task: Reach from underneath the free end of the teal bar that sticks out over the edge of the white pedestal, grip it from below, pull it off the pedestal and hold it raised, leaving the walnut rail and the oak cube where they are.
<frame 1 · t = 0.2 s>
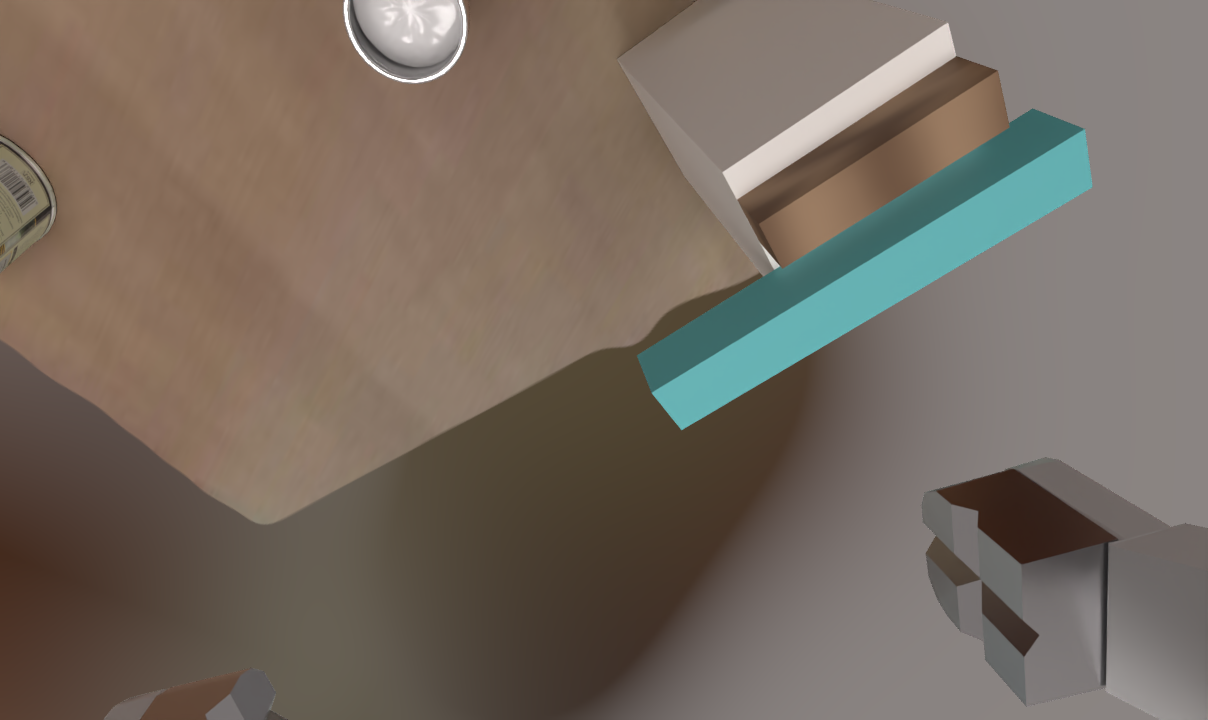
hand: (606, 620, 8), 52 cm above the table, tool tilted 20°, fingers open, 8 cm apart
walnut rail: (852, 154, 34), point 26 cm above the table, touching pedestal
pedestal: (713, 79, 56), on the table
teal bar: (833, 262, 37), point 26 cm above the table, touching pedestal
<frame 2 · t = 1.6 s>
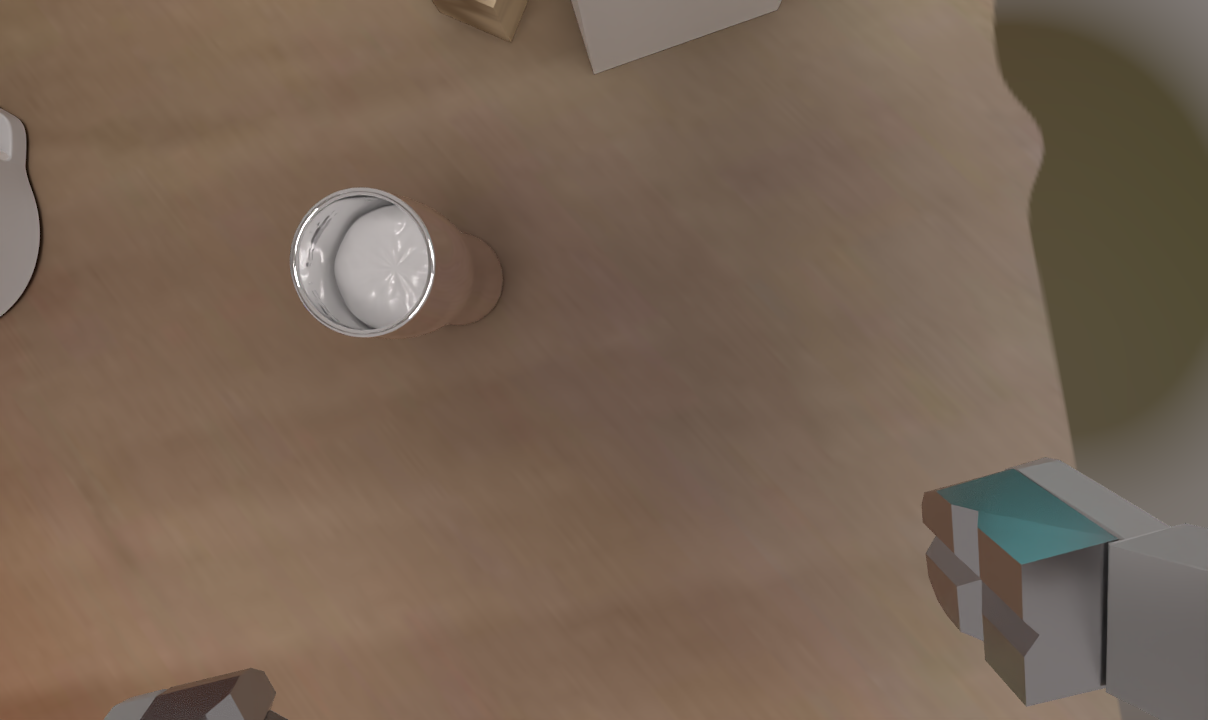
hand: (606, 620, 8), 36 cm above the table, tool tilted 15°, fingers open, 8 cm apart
beer glass: (459, 279, 44), on the table
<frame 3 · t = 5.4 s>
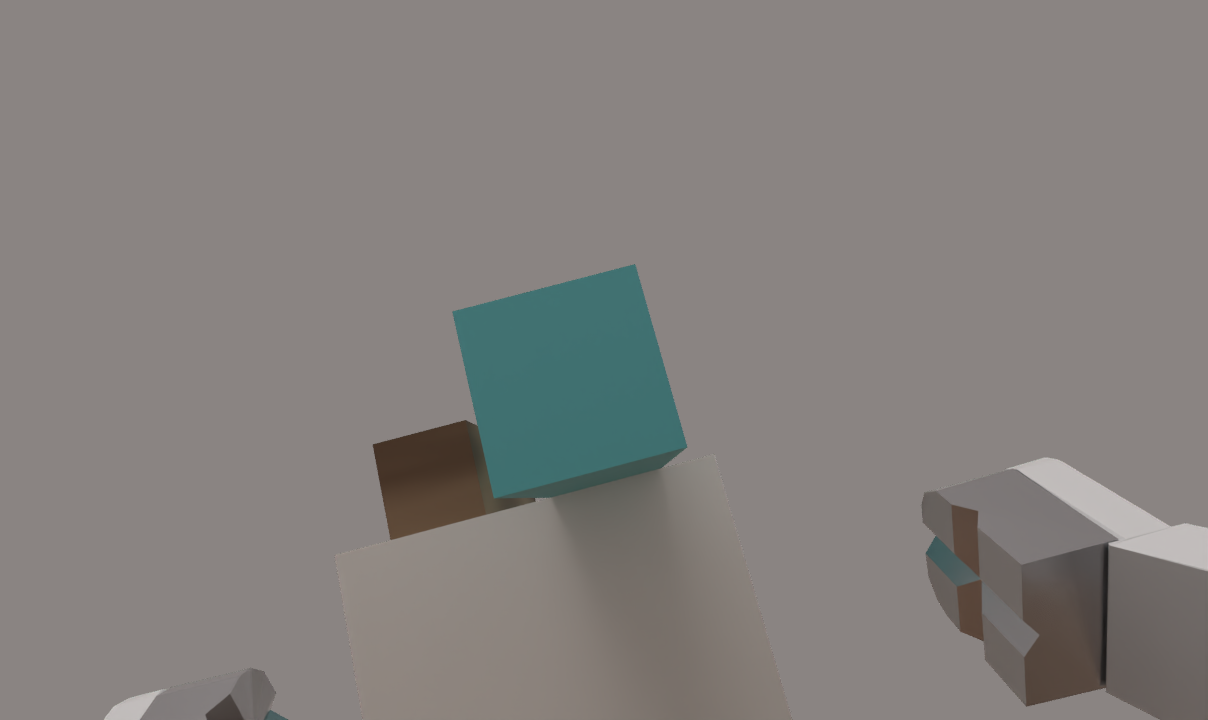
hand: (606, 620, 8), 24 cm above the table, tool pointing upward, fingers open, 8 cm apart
walnut rail: (480, 520, 26), point 26 cm above the table, touching pedestal
teal bar: (608, 484, 23), point 26 cm above the table, touching pedestal
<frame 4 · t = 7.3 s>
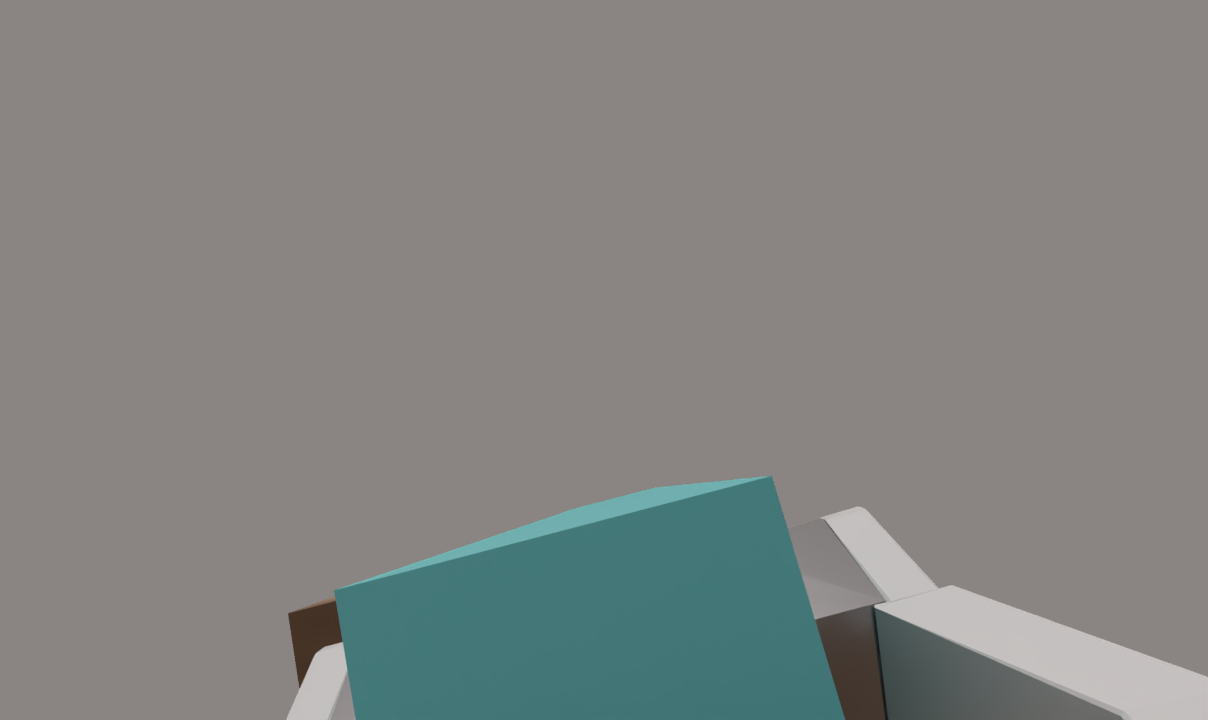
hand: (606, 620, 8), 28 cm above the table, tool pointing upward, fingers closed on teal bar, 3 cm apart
walnut rail: (459, 669, 19), point 26 cm above the table, touching pedestal
teal bar: (641, 645, 16), point 26 cm above the table, touching gripper, pedestal
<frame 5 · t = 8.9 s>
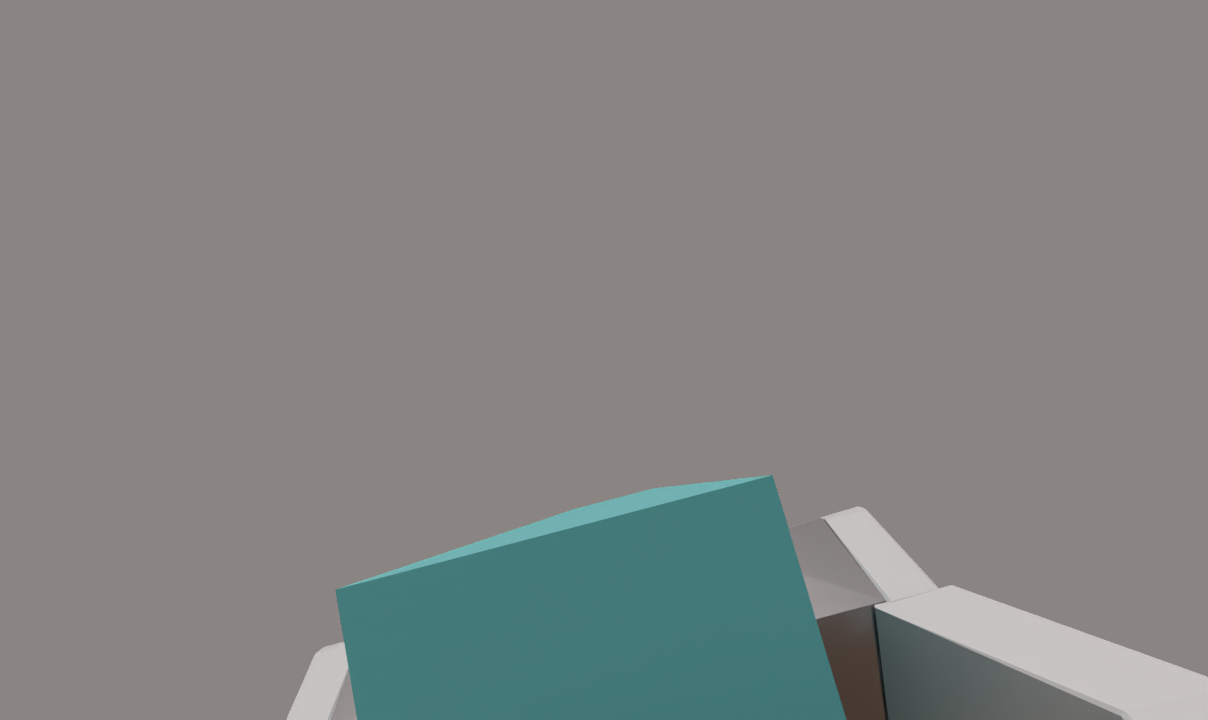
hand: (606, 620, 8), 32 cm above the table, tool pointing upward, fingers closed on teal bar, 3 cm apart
teal bar: (640, 646, 16), point 30 cm above the table, touching gripper
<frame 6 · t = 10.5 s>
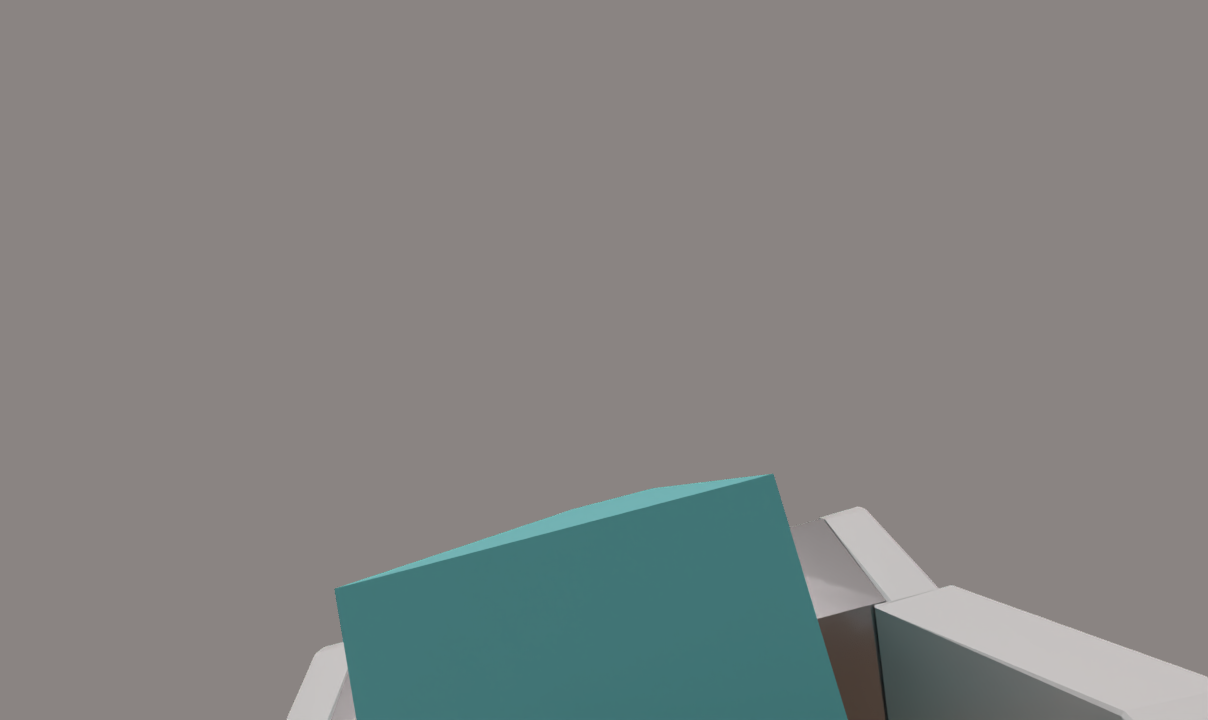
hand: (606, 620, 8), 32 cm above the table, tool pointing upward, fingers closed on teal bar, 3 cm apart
teal bar: (639, 646, 16), point 30 cm above the table, touching gripper
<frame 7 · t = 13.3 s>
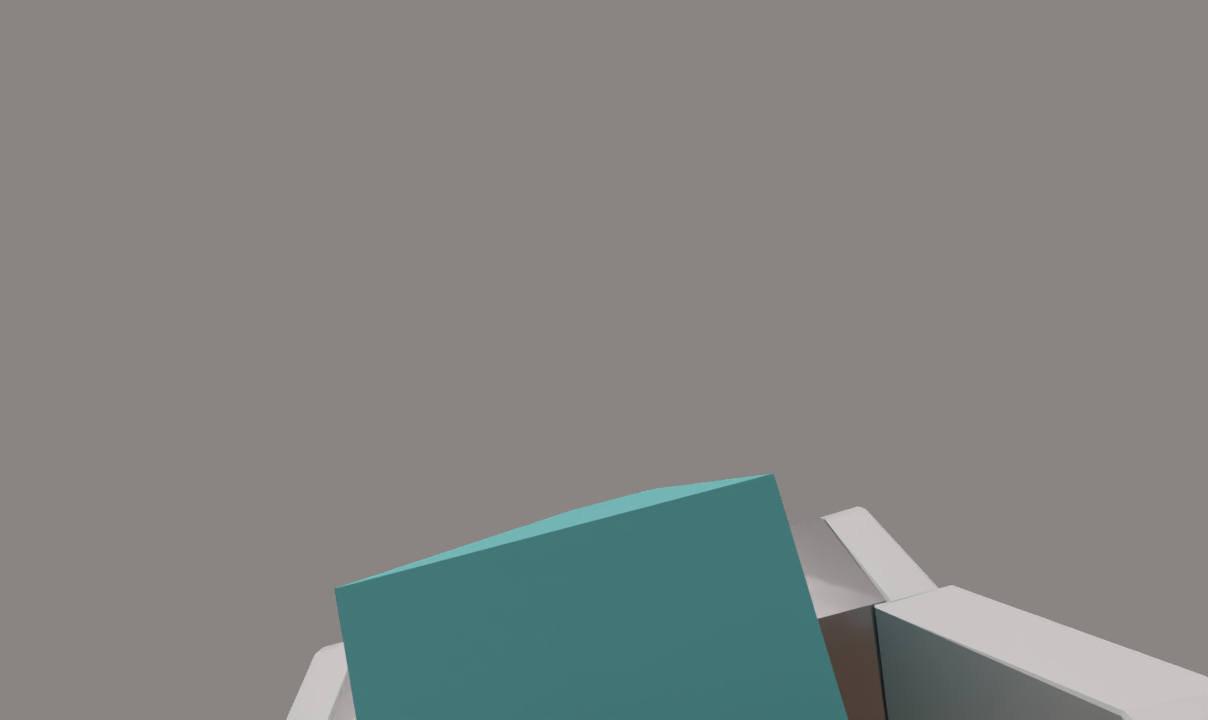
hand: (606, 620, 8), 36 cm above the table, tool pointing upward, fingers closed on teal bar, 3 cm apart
teal bar: (639, 647, 16), point 34 cm above the table, touching gripper
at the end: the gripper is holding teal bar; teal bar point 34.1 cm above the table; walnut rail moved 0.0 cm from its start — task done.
